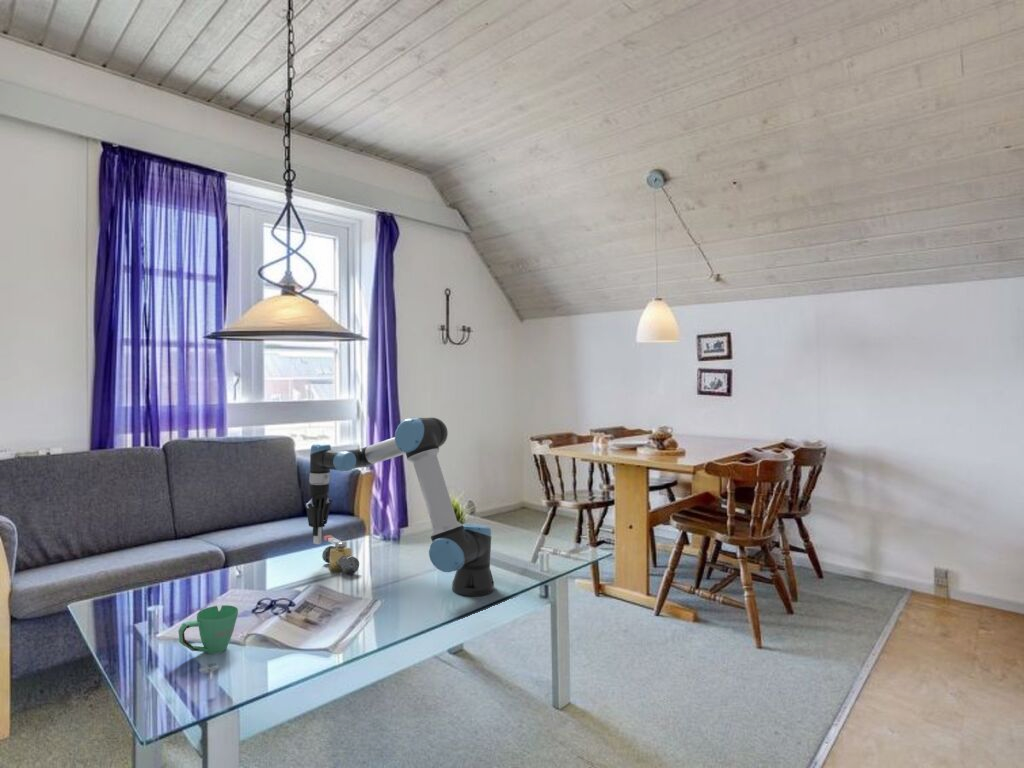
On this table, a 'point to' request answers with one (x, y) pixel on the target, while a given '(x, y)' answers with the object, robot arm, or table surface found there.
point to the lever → (335, 541)
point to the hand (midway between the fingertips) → (317, 543)
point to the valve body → (340, 560)
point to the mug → (212, 629)
